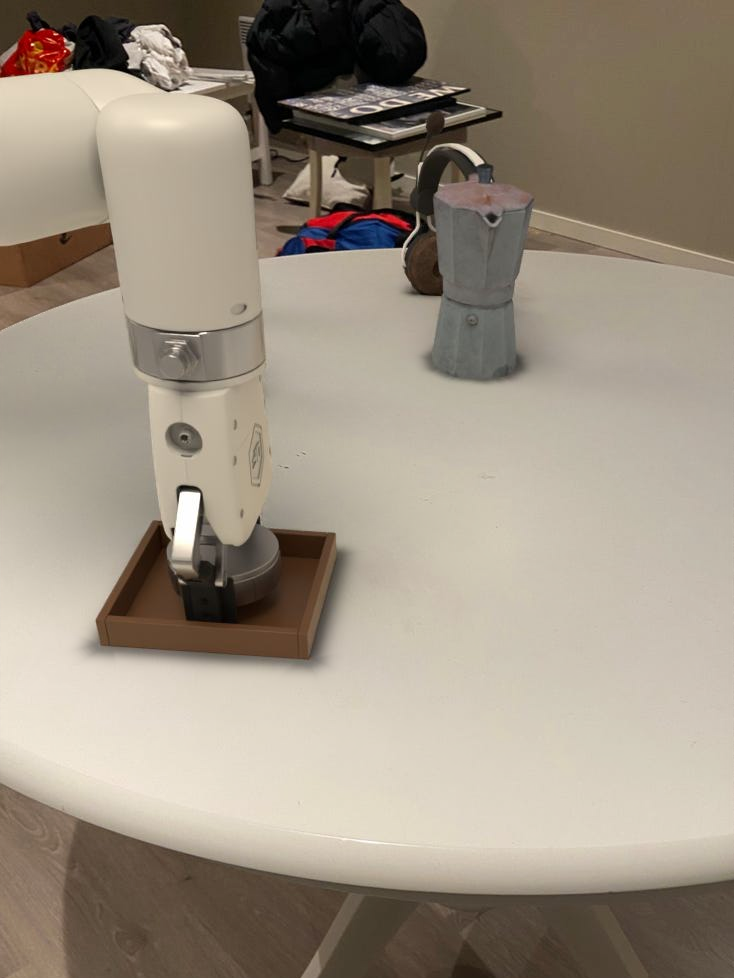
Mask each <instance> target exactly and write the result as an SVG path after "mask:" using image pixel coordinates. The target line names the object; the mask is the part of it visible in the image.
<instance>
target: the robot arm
mask: <svg viewBox="0 0 734 978" xmlns="http://www.w3.org/2000/svg"><path fill="white" fill-rule="evenodd" d="M250 143H251V142H250V135H249V131H248V127H247V125H246V122H245V120H244V118H243V116H242V115H241V113H240V112H239V111H238V110H237V109H236V108H235V107H234V106H232V105H231V104H230V103H228V102H226V101H223V100H221V99H218V98H216V97H212V96H208V95H203V94H194V93H186V92H185V93H184V92H168V91H166V90H163V89H161V88H159V87H157V86H155V85H153V84H151V83H150V82H147V81H146V80H143V79H141V78H139V77H137V76H135V75H132V74H130V73H127V72H124V71H120V70H115V69H109V68H87V69H86V68H84V69H77V70H76V69H75V70H67V71H59V72H51V71H50V72H43V73H33V74H24V75H17V76H6V77H0V247H10V246H15V245H19V244H23V243H28V242H29V243H30V242H34V241H37V240H40V239H45V238H49V237H52V236H57V235H60V234H64V233H68V232H72V231H75V230H80V229H85V228H89V227H92V226H93V227H94V226H99V225H104V224H109V225H110V230H111V231H110V232H111V236H112V237H111V238H112V243H113V249H114V256H115V263H116V270H117V275H118V282H119V289H120V293H121V301H122V306H123V311H124V320H125V326H126V333H127V338H128V345H129V351H130V358H131V362H132V370H133V372H134V375H135V376H136V377H137V378H138V379H139V380H141V381H142V382H144V383H146V384H147V397H148V398H147V399H148V415H149V418H148V419H149V429H150V441H151V452H152V461H153V462H152V463H153V470H154V479H155V487H156V494H157V500H158V507H159V513H160V517H161V521H162V522H163V526H164V530H165V533H166V535H167V536H168V537H169V538H170V539H171V540H172V541H173V547H172V554H171V566H172V568H173V569H174V570H175V571H176V574H178V580H179V584H180V585H181V589H182V595H183V602H184V609H185V615H186V621H198V622H213V623H228V624H238V616H237V607H236V598H235V589H234V580H233V579H232V578H227V577H228V544H233V545H234V546H240V545H242V544H243V543H245V542H246V540H247V539H248V538H249V537H250V535H251V533H252V531H253V529H254V526H255V524H256V523H257V524H259V525H262V524H261V512H262V510H263V507H264V505H265V503H266V500H267V498H268V495H269V492H270V489H271V487H272V483H273V478H274V466H273V458H272V449H271V441H270V432H269V425H268V415H267V408H266V400H265V393H264V386H263V381H262V374H263V373H264V372H265V370H266V368H267V365H268V364H267V354H266V353H267V351H266V340H265V339H266V338H265V337H266V336H265V326H264V312H263V311H264V310H263V303H262V291H261V290H262V289H261V287H262V286H261V273H260V262H259V246H258V236H257V234H258V233H257V222H256V221H257V220H256V208H255V195H254V181H253V167H252V166H253V165H252V154H251V152H252V151H251V144H250ZM202 525H211V527H212V529H213V530H214V532H215V534H216V535H211V534H201V533H202ZM200 545H210V546H215V566H214V565H213V564H211V563H210V562H209V561H204V560H202V556H201V555H200Z"/></svg>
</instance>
